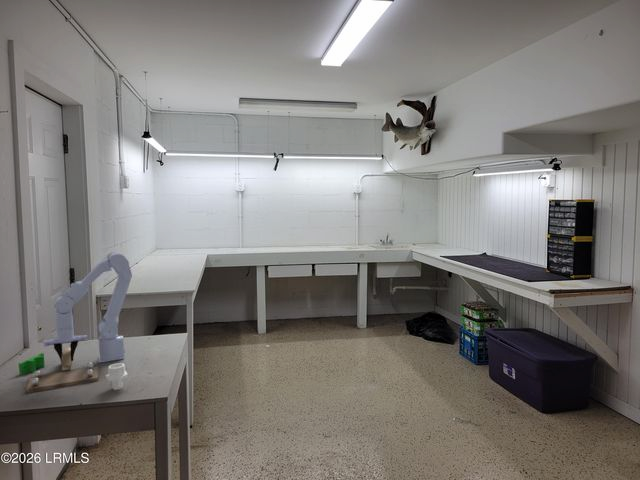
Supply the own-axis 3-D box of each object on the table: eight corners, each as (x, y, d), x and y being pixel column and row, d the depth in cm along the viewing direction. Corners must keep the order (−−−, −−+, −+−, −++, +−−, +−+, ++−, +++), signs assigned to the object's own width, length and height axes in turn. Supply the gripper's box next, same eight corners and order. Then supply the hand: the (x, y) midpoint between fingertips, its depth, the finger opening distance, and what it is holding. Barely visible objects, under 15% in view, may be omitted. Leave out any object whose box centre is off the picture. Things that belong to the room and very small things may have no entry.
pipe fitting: (124, 391, 149) (123, 368, 148) (103, 392, 149) (101, 369, 148) (131, 383, 155) (130, 361, 155) (110, 384, 155) (109, 362, 154)
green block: (28, 375, 164) (27, 363, 163) (19, 375, 164) (18, 363, 164) (50, 364, 175) (49, 353, 174) (41, 363, 175) (40, 352, 175)
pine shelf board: (72, 359, 178) (71, 347, 177) (70, 369, 167) (69, 356, 167) (64, 360, 177) (63, 348, 176) (62, 370, 166) (61, 357, 166)
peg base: (98, 369, 169) (98, 359, 169) (98, 380, 158) (97, 370, 158) (31, 380, 159) (30, 370, 159) (26, 392, 148) (25, 382, 148)
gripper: (86, 322, 177) (88, 354, 179) (44, 327, 171) (46, 360, 172) (85, 326, 171) (87, 360, 172) (42, 332, 165) (44, 366, 166)
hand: (67, 360), depth 172 cm, fingers closed on pine shelf board, 3 cm apart
